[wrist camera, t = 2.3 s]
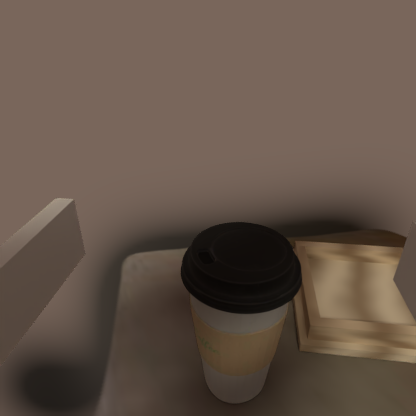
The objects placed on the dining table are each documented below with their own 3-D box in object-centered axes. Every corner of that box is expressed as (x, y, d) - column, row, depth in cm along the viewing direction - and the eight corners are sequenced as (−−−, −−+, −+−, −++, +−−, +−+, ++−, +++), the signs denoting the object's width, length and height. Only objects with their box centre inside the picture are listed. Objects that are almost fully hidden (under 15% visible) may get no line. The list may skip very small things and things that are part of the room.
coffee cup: (166, 376, 33) (153, 250, 26) (229, 321, 39) (233, 206, 31) (243, 450, 27) (254, 314, 20) (303, 372, 33) (328, 246, 26)
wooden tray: (408, 262, 48) (414, 245, 46) (475, 369, 33) (487, 348, 32) (286, 254, 50) (289, 237, 48) (299, 351, 35) (303, 330, 34)
